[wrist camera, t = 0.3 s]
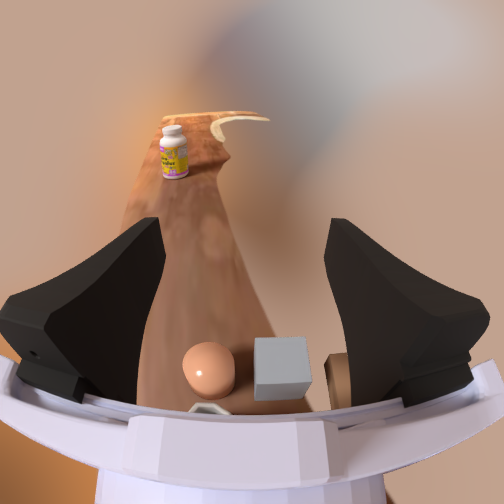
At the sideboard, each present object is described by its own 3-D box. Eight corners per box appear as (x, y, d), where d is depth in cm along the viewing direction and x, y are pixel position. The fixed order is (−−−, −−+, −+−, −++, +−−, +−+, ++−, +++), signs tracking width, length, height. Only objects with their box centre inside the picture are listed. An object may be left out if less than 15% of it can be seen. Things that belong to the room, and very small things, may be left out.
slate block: (302, 398, 25) (312, 381, 22) (254, 401, 25) (256, 384, 22) (297, 359, 29) (305, 336, 26) (253, 360, 29) (255, 337, 26)
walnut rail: (359, 475, 18) (369, 473, 16) (340, 479, 18) (349, 478, 16) (340, 362, 28) (346, 352, 27) (323, 364, 28) (329, 354, 27)
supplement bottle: (158, 177, 65) (152, 129, 56) (176, 168, 69) (172, 123, 61) (175, 182, 62) (170, 132, 54) (194, 172, 66) (191, 125, 58)
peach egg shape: (235, 400, 25) (234, 388, 22) (187, 398, 25) (179, 385, 22) (235, 360, 29) (234, 342, 26) (191, 358, 28) (185, 341, 26)
